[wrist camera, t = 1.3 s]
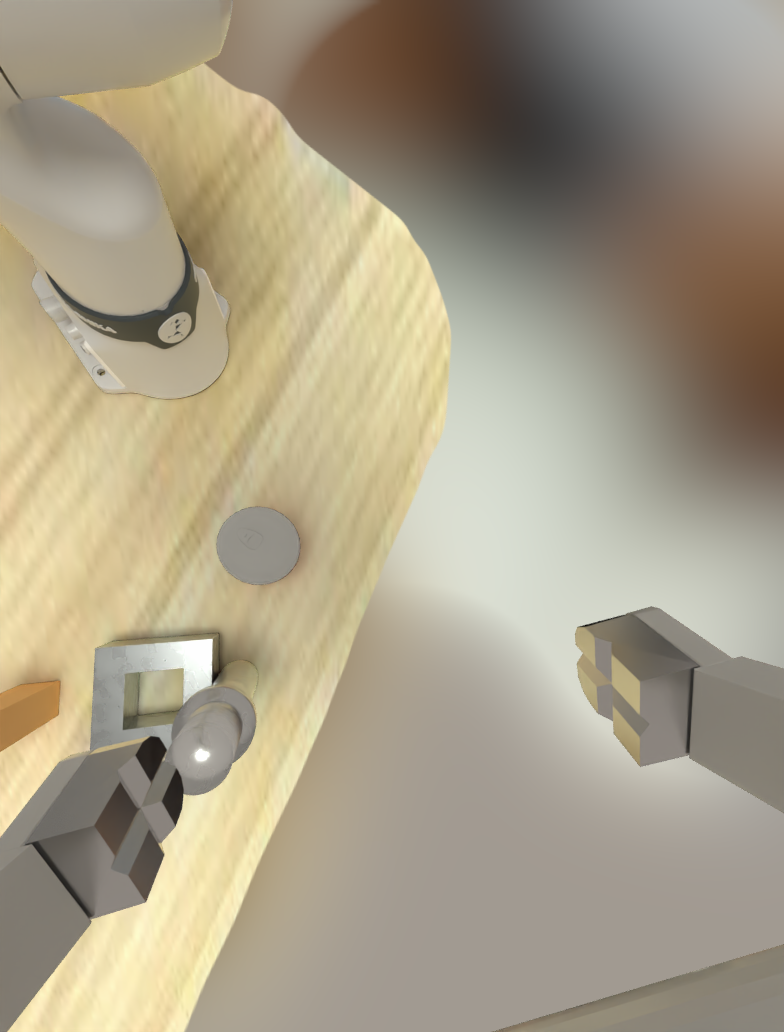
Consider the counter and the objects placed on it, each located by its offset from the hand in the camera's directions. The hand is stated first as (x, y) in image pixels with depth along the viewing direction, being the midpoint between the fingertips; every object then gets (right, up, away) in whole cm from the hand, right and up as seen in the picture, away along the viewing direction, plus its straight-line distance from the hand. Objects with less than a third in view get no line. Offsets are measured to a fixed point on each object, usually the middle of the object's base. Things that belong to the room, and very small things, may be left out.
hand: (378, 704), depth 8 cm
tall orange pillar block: (-37, -16, +34) cm, 53 cm away
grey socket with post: (-23, -16, +37) cm, 46 cm away
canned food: (-15, -1, +41) cm, 44 cm away
